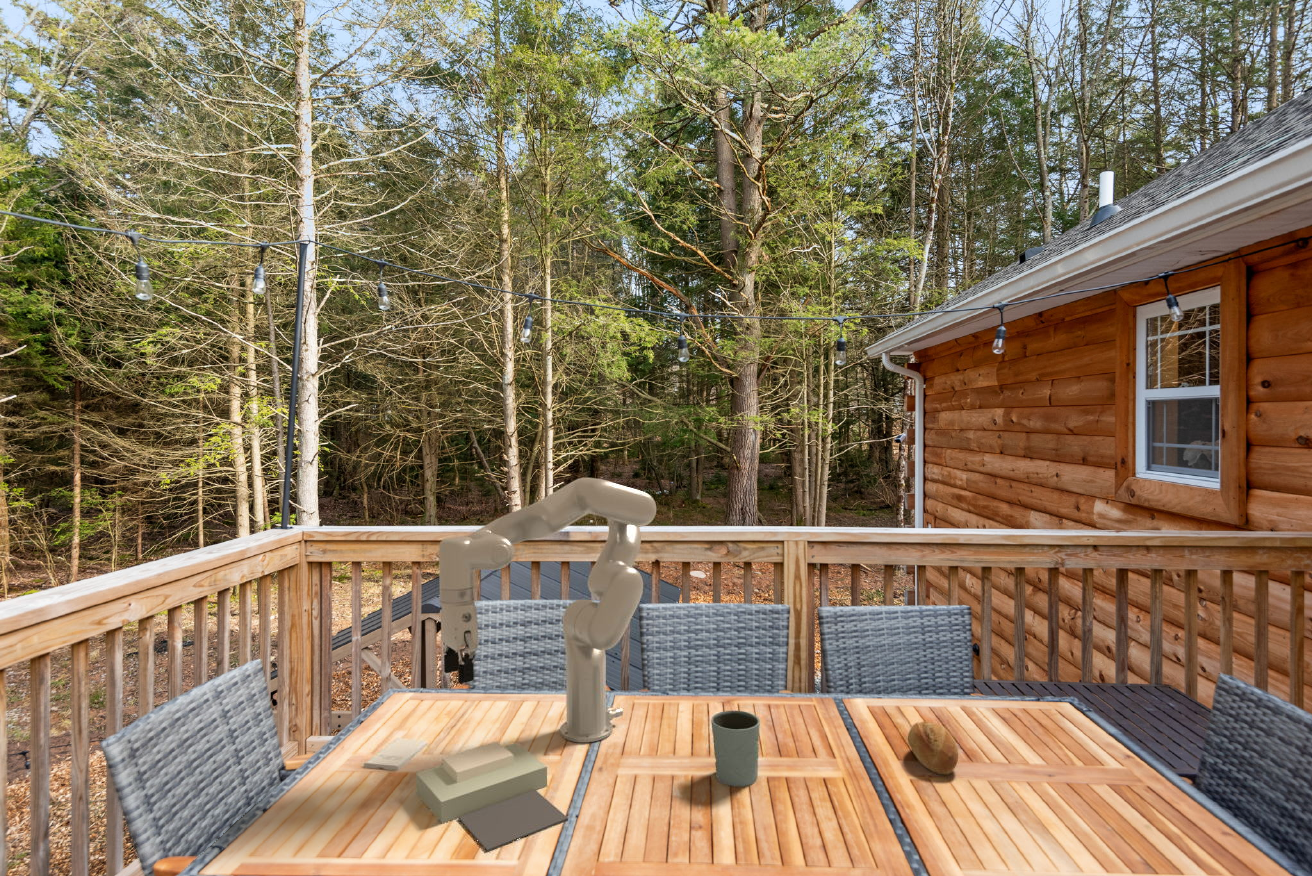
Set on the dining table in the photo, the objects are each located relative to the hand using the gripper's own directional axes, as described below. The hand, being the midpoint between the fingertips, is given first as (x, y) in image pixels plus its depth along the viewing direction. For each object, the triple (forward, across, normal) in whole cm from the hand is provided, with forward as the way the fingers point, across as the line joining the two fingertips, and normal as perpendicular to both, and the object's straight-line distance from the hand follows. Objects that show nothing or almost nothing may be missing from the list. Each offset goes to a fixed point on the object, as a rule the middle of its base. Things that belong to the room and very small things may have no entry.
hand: (458, 676), depth 150 cm
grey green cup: (+20, -40, -44) cm, 63 cm away
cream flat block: (+16, -10, 0) cm, 19 cm away
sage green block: (+20, -12, 0) cm, 23 cm away
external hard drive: (+21, +14, +9) cm, 26 cm away
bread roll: (+20, -62, -82) cm, 105 cm away
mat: (+20, -26, 0) cm, 33 cm away
